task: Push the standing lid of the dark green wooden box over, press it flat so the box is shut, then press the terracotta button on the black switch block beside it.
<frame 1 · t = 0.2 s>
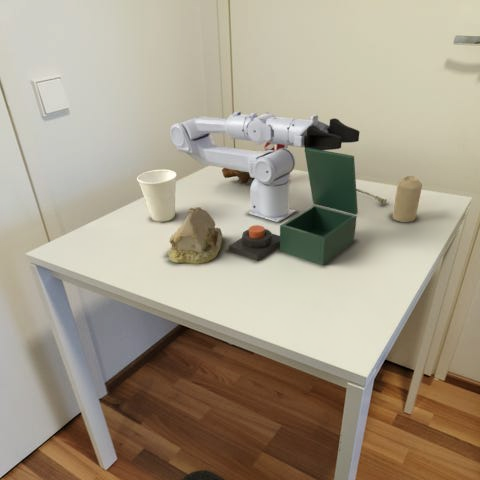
hand: (349, 139, 94), 21 cm above the table, tool horizontal, fingers open, 7 cm apart
ceramic model: (197, 250, 103), on the table
button: (256, 232, 101), point 4 cm above the table, slide at 0.1 cm
box: (317, 246, 102), on the table
candle: (403, 218, 112), on the table
lid: (331, 181, 97), point 14 cm above the table, hinge at 70.8°
soda can: (276, 181, 137), on the table
soupspoon: (351, 195, 126), on the table
cup: (163, 218, 119), on the table
switch block: (257, 247, 103), on the table
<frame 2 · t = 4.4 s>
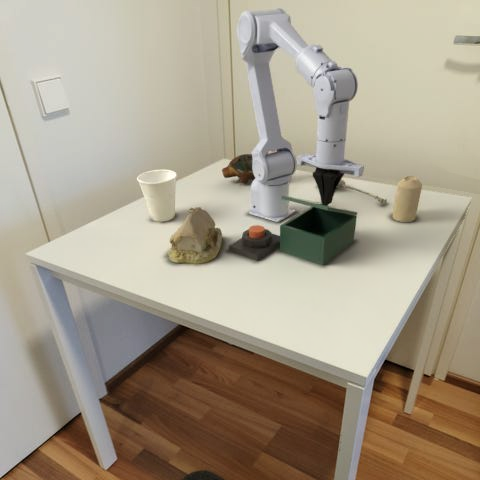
hand: (326, 203, 98), 9 cm above the table, tool pointing down, fingers closed
lid: (320, 205, 96), point 10 cm above the table, hinge at 23.9°, touching gripper
everything else where it was.
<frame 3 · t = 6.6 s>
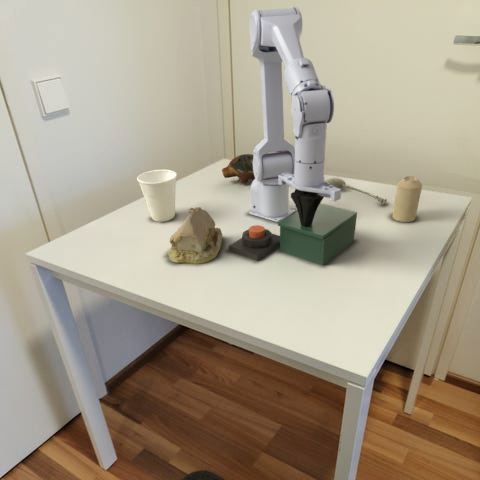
hand: (306, 224, 95), 7 cm above the table, tool pointing down, fingers closed, pressing on lid
lid: (318, 218, 98), point 7 cm above the table, hinge at 0.8°, touching gripper
everything else where it was.
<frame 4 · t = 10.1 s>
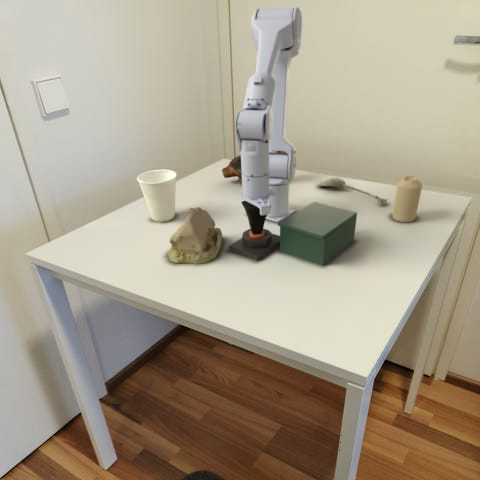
hand: (256, 233, 101), 4 cm above the table, tool pointing down, fingers closed, pressing on button
button: (256, 236, 101), point 3 cm above the table, slide at -0.9 cm, touching gripper
lid: (318, 218, 98), point 7 cm above the table, hinge at 0.8°
everything else where it was.
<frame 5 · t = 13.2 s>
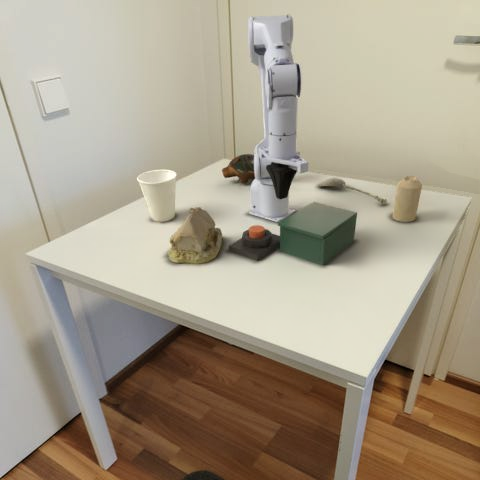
hand: (281, 197, 99), 10 cm above the table, tool pointing down, fingers closed
button: (256, 232, 101), point 4 cm above the table, slide at 0.1 cm
everything else where it was.
at the end: lid at +1° (first picture: +71°); button pushed in 1.2 cm at the most during the clip, back to where it started at the end; button slide at 0.1 cm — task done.
